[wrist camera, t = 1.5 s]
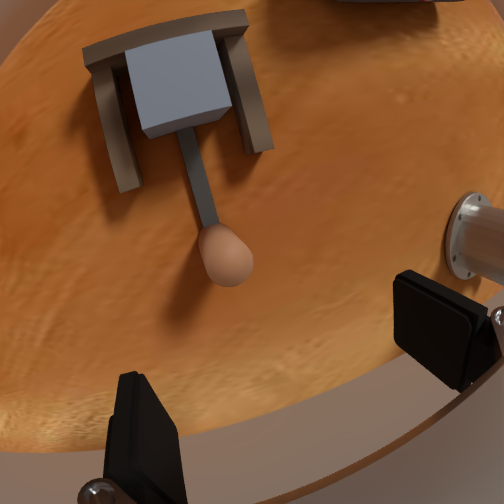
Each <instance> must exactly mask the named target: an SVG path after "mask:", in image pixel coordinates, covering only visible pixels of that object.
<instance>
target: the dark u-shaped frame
mask: <svg viewBox="0 0 504 504" xmlns="http://www.w3.org/2000/svg"><path fill="white" fill-rule="evenodd" d="M248 27H249V22H248V19H247V16H246V13H245V10H244V9H240V10H231V11H223V12H215V13H209V14H203V15H197V16H191V17H186V18H181V19H176V20H172V21H167V22H163V23H159V24H155V25H151V26H148V27H144V28H140V29H137V30H133V31H130V32H127V33H124V34H121V35H118V36H115V37H112V38H109V39H106V40H103V41H100V42H98V43H95V44H92V45H90V46H87V47H85V48H82V51H83V58H84V65H85V67H86V68H87V69H88V71H89V72H90V73H91V75H92V81H93V86H94V91H95V96H96V101H97V106H98V111H99V115H100V120H101V124H102V129H103V133H104V137H105V141H106V145H107V149H108V153H109V157H110V161H111V164H112V168H113V172H114V175H115V179H116V182H117V186H118V189H119V192H120V194H121V193H124V192H126V191H129V190H132V189H135V188H138V187H141V186H143V185H144V184H143V181H142V177H141V174H140V170H139V167H138V163H137V159H136V156H135V152H134V148H133V144H132V140H131V136H130V132H129V128H128V124H127V120H126V116H125V112H124V107H123V103H122V99H121V94H120V89H119V85H118V80H117V77H120V76H122V75H125V74H128V73H129V70H128V65H127V60H126V55H125V51H127V50H130V49H133V48H137V47H140V46H143V45H147V44H151V43H154V42H158V41H162V40H166V39H170V38H174V37H179V36H183V35H188V34H193V33H198V32H203V31H209V30H211V31H212V34H213V38H214V41H215V45H216V48H217V51H218V52H219V56H220V59H221V63H222V66H223V70H224V74H225V77H226V81H227V85H228V88H229V92H230V96H231V100H232V103H233V107H234V111H235V115H236V118H237V122H238V126H239V130H240V134H241V137H242V141H243V145H244V149H245V153H246V155H249V154H253V153H258V152H262V151H266V150H271V149H274V145H273V141H272V137H271V133H270V129H269V125H268V121H267V118H266V114H265V110H264V106H263V103H262V99H261V95H260V91H259V88H258V84H257V81H256V77H255V74H254V70H253V66H252V63H251V60H250V56H249V53H248V49H247V46H246V43H245V39H244V36H243V35H244V33H245V31H246V30H247V28H248Z"/></svg>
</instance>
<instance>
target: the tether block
mask: <svg viewBox="0 0 504 504" xmlns="http://www.w3.org/2000/svg"><path fill="white" fill-rule="evenodd" d="M125 55H126V60H127V65H128V70H129V75H130V79H131V84H132V88H133V93H134V97H135V102H136V106H137V110H138V114H139V118H140V122H141V126H142V130H143V131H144V133H145V134H146V135H147V136H148V138H149V139H153V138H156V137H159V136H162V135H165V134H169V133H172V132H177V136H178V140H179V144H180V147H181V151H182V155H183V158H184V162H185V166H186V169H187V173H188V177H189V180H190V184H191V187H192V191H193V194H194V198H195V201H196V205H197V208H198V212H199V215H200V218H201V222H202V225H203V228H202V229H201V231H200V232H199V234H198V238H197V244H198V248H199V251H200V254H201V257H202V260H203V263H204V266H205V269H206V272H207V274H208V276H209V278H210V279H211V280H212V281H213V282H214V283H216V284H218V285H220V286H223V287H233V286H237V285H239V284H241V283H243V282H244V281H245V280H246V279H247V278H248V277H249V276H250V274H251V272H252V269H253V264H254V261H253V256H252V253H251V251H250V250H249V248H248V247H247V246H246V245H245V244H244V243H243V242H242V241H241V240H240V239H239V238H238V237H237V236H236V235H235V234H234V233H233V232H232V231H231V230H230V229H229V227H227V226H226V225H224V224H222V223H219V219H218V216H217V212H216V209H215V205H214V202H213V198H212V195H211V191H210V187H209V184H208V180H207V176H206V173H205V169H204V165H203V162H202V158H201V154H200V151H199V147H198V143H197V139H196V136H195V132H194V128H193V126H197V125H201V124H205V123H209V122H213V121H217V120H219V119H220V118H221V117H222V116H223V115H224V114H225V113H226V112H227V111H228V109H229V108H230V107H231V106H232V104H231V100H230V96H229V92H228V89H227V85H226V81H225V78H224V74H223V70H222V67H221V63H220V59H219V56H218V52H217V48H216V45H215V41H214V38H213V34H212V31H211V30H209V31H203V32H198V33H193V34H188V35H183V36H179V37H174V38H170V39H166V40H162V41H158V42H154V43H151V44H147V45H143V46H140V47H137V48H133V49H130V50H127V51H125Z"/></svg>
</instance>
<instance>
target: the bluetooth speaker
mask: <svg viewBox="0 0 504 504" xmlns="http://www.w3.org/2000/svg"><path fill="white" fill-rule="evenodd" d="M335 1H338V2H353V3H369V2H457V1H464V0H335Z"/></svg>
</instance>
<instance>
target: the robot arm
mask: <svg viewBox="0 0 504 504" xmlns="http://www.w3.org/2000/svg"><path fill="white" fill-rule="evenodd" d="M445 251H446V260H447V264H448V267H449V269H450V271H451V273H452V274H453V275H454V276H456V277H457V278H460V279H462V280H467V279H470V278H472V277H474V276H475V275H476V274H478V275H480V276H483V277H485V278H487V279H489V280H492V281H494V282H496V283H498V284H501V285H503V286H504V209H500V208H495V207H492V205H491V203H490V201H489V199H488V198H487V197H486V196H485V195H483V194H481V193H477V192H471V193H468V194H466V195H465V196H464V197H463V198H462V199H461V200H460V201H459V202H458V204H457V206H456V207H455V209H454V211H453V213H452V216H451V219H450V222H449V225H448V229H447V235H446V247H445ZM393 305H394V341H395V343H396V344H397V345H398V346H399V347H400V348H401V349H403V350H404V351H405V352H406V353H408V354H409V355H410V356H411V357H413V358H414V359H415V360H416V361H418V362H419V363H420V364H421V365H423V366H424V367H425V368H426V369H427V370H429V371H430V372H431V373H432V374H434V375H435V376H436V377H437V378H438V379H440V380H441V381H442V382H443V383H444V384H446V385H447V386H449V388H451V389H456V390H457V391H458V392H459V393H461V394H460V395H458V396H457V397H456V398H455V399H453V400H452V401H451V402H450V403H448V404H447V405H446V406H444V407H443V408H442V409H440V410H439V411H438V412H436V413H435V414H434V415H432V416H431V417H429V418H428V419H427V420H425V421H424V422H422V423H421V424H419V425H418V426H416V427H415V428H413V429H412V430H410V431H409V432H407V433H406V434H404V435H403V436H401V437H400V438H398V439H396V440H395V441H393V442H391V443H390V444H388V445H386V446H385V447H383V448H381V449H380V450H378V451H376V452H374V453H372V454H371V455H369V456H367V457H365V458H363V459H361V460H359V461H358V462H356V463H354V464H352V465H350V466H348V467H346V468H344V469H342V470H340V471H337V472H335V473H333V474H331V475H329V476H327V477H324V478H322V479H320V480H318V481H315V482H313V483H311V484H308V485H306V486H303V487H301V488H298V489H296V490H293V491H290V492H288V493H285V494H282V495H279V496H277V497H274V498H271V499H268V500H265V501H261V502H259V503H255V504H504V306H501V307H498V308H496V309H494V310H493V312H492V313H491V316H490V317H488V316H487V312H488V308H487V307H485V306H483V305H481V304H479V303H477V302H475V301H473V300H471V299H469V298H467V297H465V296H463V295H461V294H459V293H457V292H455V291H453V290H451V289H449V288H447V287H445V286H443V285H441V284H439V283H437V282H435V281H433V280H431V279H429V278H427V277H425V276H423V275H421V274H419V273H416V272H414V271H412V270H406V271H404V272H402V273H400V274H398V275H396V277H395V280H394V281H393ZM471 382H472V383H473V384H472V385H471ZM77 502H78V504H188V502H187V497H186V490H185V484H184V477H183V470H182V463H181V455H180V448H179V439H178V432H177V429H176V426H175V424H174V423H173V421H172V419H171V418H170V416H169V415H168V413H167V412H166V410H165V409H164V407H163V405H162V404H161V402H160V401H159V399H158V397H157V396H156V394H155V392H154V391H153V389H152V387H151V386H150V384H149V382H148V380H147V379H146V377H145V375H144V374H138V372H137V371H132V372H129V373H125V374H121V375H120V376H119V381H118V388H117V394H116V401H115V408H114V415H112V416H111V417H110V419H109V425H108V433H107V441H106V450H105V460H104V471H103V478H97V479H93V480H91V481H89V482H87V483H86V484H85V485H84V486H83V487H82V488H81V490H80V492H79V493H78V498H77Z"/></svg>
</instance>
